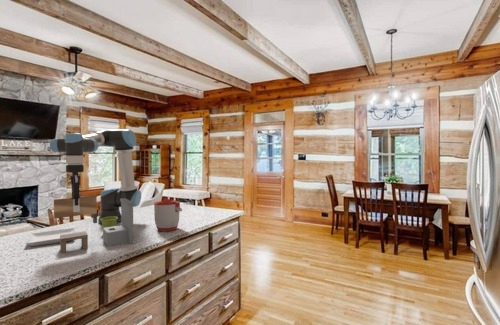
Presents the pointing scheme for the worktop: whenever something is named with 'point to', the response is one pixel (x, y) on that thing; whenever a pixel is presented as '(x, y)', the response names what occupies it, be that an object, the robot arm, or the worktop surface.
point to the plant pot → (109, 221)
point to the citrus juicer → (167, 214)
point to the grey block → (121, 226)
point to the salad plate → (47, 237)
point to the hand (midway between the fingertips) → (76, 211)
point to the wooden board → (65, 207)
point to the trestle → (73, 236)
